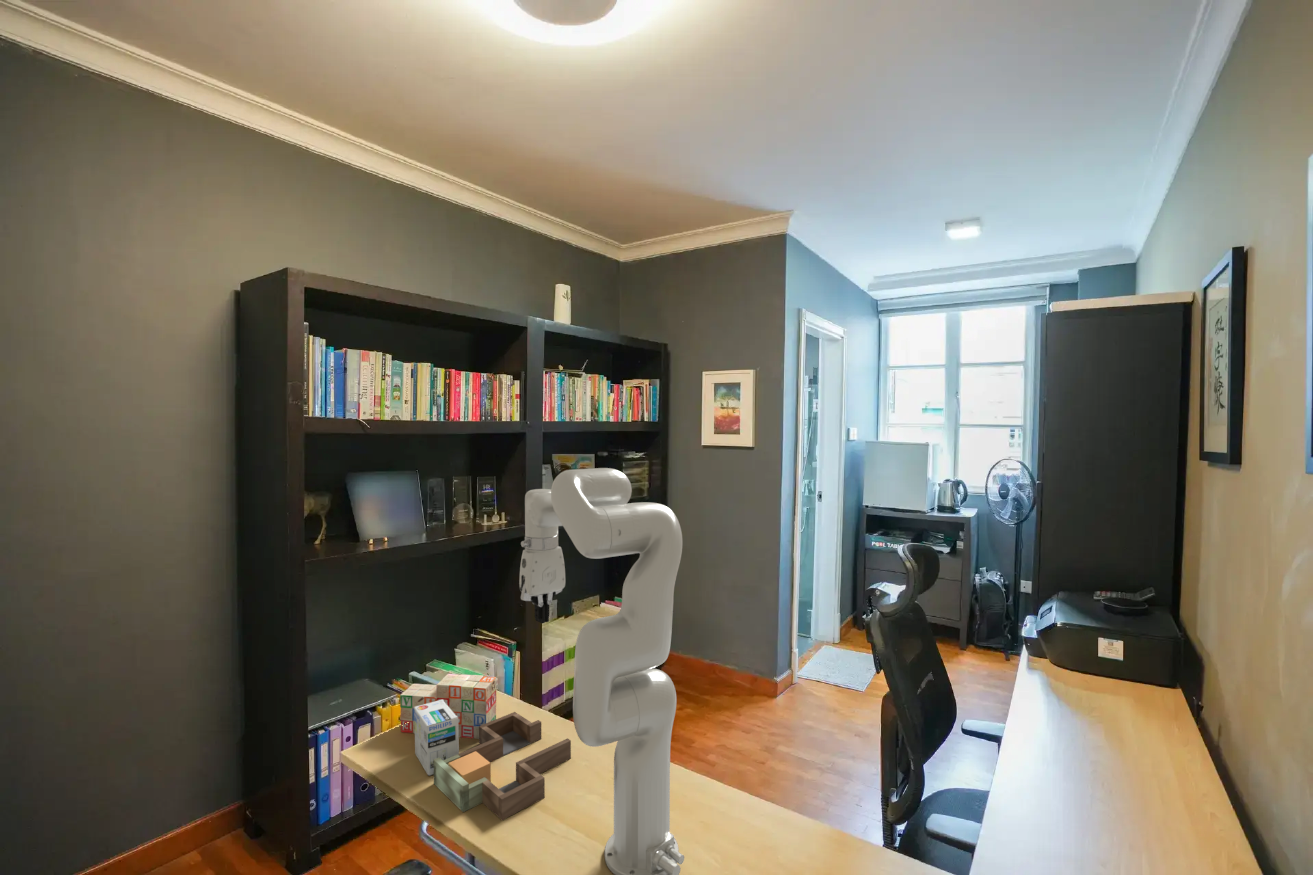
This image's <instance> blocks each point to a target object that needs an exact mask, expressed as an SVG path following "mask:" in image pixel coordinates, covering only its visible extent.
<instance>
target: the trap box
mask: <svg viewBox="0 0 1313 875" xmlns="http://www.w3.org/2000/svg"><path fill="white" fill-rule="evenodd" d="M541 739H542V721H541V720H540V719H538V720H535V721H533V722H532V721H530V720H528V719H527V718H525V717H524V716H522V715H520V714H519V713H517V712H516V711H513V712H511V713H508V714H506V715H503V716H501V717H498V718H496V720H493V721H491V722H488V723H486V724H483V725H481V726H479V739H478V743H479V744H478V745H476V746H473V747H471V748H469V749H466V750H464V751H462V752H459V754H457V755H455V756H452V757H450V758H448V759H445V760H442V759H441V758H436V759H434V774H433V785H434V786H435V787H436V788H438V789H439V791H441V792H442V793H443V794H444V795H445V796H446V797H447V798H448V799H449V800H450V801H451V802H452V803H453V804H454V805H455V806H456V807H457V808H458V809H460V811H461V812H462V813H465V812H467V811H469V810H471V809H473V808H474V807H477V806H478V805H481V804H483V805H484V806H485V807H487V809H489V811H491V812H492V813H493V814H494V815H496V816H497V817H498V818H499V819H500V820H501V821H504V820H506V819H507V818H509V817H512V816H513V815H515V814H517V813H519V812H521V811H522V810H524V809H526V808H527V807H530V806H532V805H533V804H535V803H538V802H539V801H541V800H543V799H545V796H546V795H545V794H546V793H545V791H546V789H545V787H546V786H545V785H546V784H545V780H546V779H545V778H546V777H544V775H542V773H545V772H547V771H549V770H550V769H553V768H555V767H556V766H559V765H561V764H562V763H564V762H567V761H568V760H570V759H571V758H572V750H571V749H572V746H571V745H572V740H571V739H570V738H566V739H563V740H560V741H559V742H557V743H554V744H552V745H550V746H549V747H546V748H543V749H542V750H540V751H537V752H536V753H533V754H531V755H529V756H526V757H525V758H523V759H521V760H518V761H516V762H515V780H514V781H512V782H510V783H507V784H506V785H503V786H502V787H498V786H496V785H495V784H493V783H492V782H490V781H489V780H488V779H486V778H485V777H484V778H482V779H480V780H478V781H475V782H473V783H471V784H469V783H467V782H466V781H465V780H464V779H463V778H462V777H461V776H460V775H459V774H457V773H456V772H455V771H454V770H453V769H452V768H451V767H450V766H449V764H448V763H449V762H452V761H454V760H456V759H459V758H461V757H463V756H466V755H468V754H470V753H473V752H475V751H476V752H478V753H479V754H480V755H481V756H483V757H484V758H485V759H486V760H487V761H489V762H490V763H492V762H493V761H496V760H497V759H500V758H501V757H505V756H507V755H508V754H509V755H510V754H511V753H513V752H515V751H517V750H520V749H522V748H524V747H527V746H529V745H530V744H534V743H535V742H537V741H540V740H541Z"/></svg>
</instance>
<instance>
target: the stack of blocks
mask: <svg viewBox="0 0 1313 875" xmlns="http://www.w3.org/2000/svg"><path fill="white" fill-rule="evenodd" d="M442 699H443V700H444V701H445V703H446V704H447V705H448V706H449V708H450V709H451V710H452V711H453V712H454V713H455V714H456V715H457V716H458V733H459V734H458V735H459V738H465V739H477V740H479V726H481V725H483V724H486V723H488V722H491V721H493V720H496V719H497V677H496V676H484V675H483V674H482V675H481V674H480V675H479V674H459V673H458V674H457V673H447V674H446V675H445V676H444V677H443V678H442V679H441V680H440V681H439V682H438V683H437V684H428V683H427V684H425V683H424V684H422V683H413V684H411V685H410V686H408V687H407V689H405V690H404V691H403V692H402V693H401V694H400V695H399V703H400V704H399V706H400V733H406V734H410V733H411V734H415V718H414V707H416V706H419V705H424V704H427V703H431V702H435V701H439V700H442ZM407 722H409V723H407ZM405 723H406V724H405ZM401 725H403V726H401Z"/></svg>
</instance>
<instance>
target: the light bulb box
mask: <svg viewBox="0 0 1313 875" xmlns="http://www.w3.org/2000/svg"><path fill="white" fill-rule="evenodd" d="M414 718H415V733H414V755H415V756H416V757H417V759H418V761H419V763H420V764H421V766H422V768H423V769H424V771H425V773H426V775H427V776H432V775H434V759H436V758H441V759H442V760H445V759H448V758H450V757H452V756H455V755H457V754H459V753H460V750H459V749H460V747H459V746H460V744H459V742H460V741H459V738H460V737H459V735H458V734H459V733H458V716H457V715H456V714H455V713H454V712H453V711H452V710H451V709H450V708H449V706H448V705H447V704H446V703H445V701H444V700H443V699H442V700H439V701H435V702H431V703H427V704H424V705H419V706H416V707H414Z"/></svg>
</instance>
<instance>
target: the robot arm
mask: <svg viewBox="0 0 1313 875" xmlns="http://www.w3.org/2000/svg"><path fill="white" fill-rule="evenodd" d="M631 496H632V484H631V481H630V480H629V478H628V476H627V475H626V474H625V473H623V472H622V471H620V470H618V469H615V468H611V467H609V468H608V467H598V468H597V467H596V468H594V467H593V468H578V469H577V468H576V469H566V470H563V471H562V472H560V473H559V474H558V475H557V476H556V477H555V478H554V479H553V482H552V485H551V489H550V488H549V489H548V488H535V489H530V490H528V491H526V493H525V495H524V524H525V525H524V530H525V534H524V540H522V541H521V542H520V545H521V547H522V548H524V549H523V550H522V554H521V560H520V567H519V580H518V581H519V583H518V584H519V591H520V592H521V594H520V600H521V601H525V602H531V603H532V604H533V605H534V619H535V621H536V622H538V623H540V624H545V623H549V622H550V605H551V604H552V602H553V599H554V597H555V596H556V595H558V594H559V593H562V592H563V589H564V588H565V587H566V568H565V559H564V554H563V549H562V547H561V546H559V527H563V529H564V530H565V532H566V533H567V535H568V536H569V539H570V540H571V542H572V543H573V545H574V547H575V549H576V550H577V551H578V552H579V553H580V554H581V555H582V556H583V557H585V558H588V559H596V560H597V559H606V558H612V557H619V556H620V557H621V556H626V555H635V554H639V557H638V559H637V560H636V561H635V562H634V563H633V565H632V566H631V568H630V570H629V572H628V573H627V575H626V577H625V580H624V581H623V586H622V591H621V592H622V593H621V594H622V595H621V608H620V610H619V612H618V613H616V614H613V615H609V616H603V617H599V618H596V619H593V620H590V621H588V622H586V624H584V625H583V626H582V627H581V629H580V631H579V633H578V634H577V639H576V641H575V650H574V670H573V671H574V672H573V673H574V674H573V694H572V696H573V698H572V716H573V724H574V728H575V732H576V734H577V737H578V739H580V741H581V743H583V744H585V746H588V747H595V748H596V747H602V746H605V745H608V744H612V743H615V742H617V743H616V745H615V750H614V756H613V834H612V835H611V836H610V837H609V838H608V839H607V841H606V843H605V847H604V860H605V864H606V866H607V868H608V869H609V871H611V873H613V875H680V873H681V866H680V865H682V864H683V863H684V861H685V855H684V854H682V853H681V852H679V851H680V849H679V845H678V841H677V840H676V838H675V835H674V834H673V833H671V832H670V830H671V829H670V828H671V827H670V825H671V824H670V822H671V821H670V819H671V818H670V817H671V816H670V815H671V814H670V811H671V810H670V809H671V808H670V807H671V806H670V805H671V804H670V803H671V800H670V799H671V795H670V794H671V793H670V792H671V791H670V790H671V775H670V774H671V741H672V732H673V726H674V720H675V716H676V710H677V692H676V686H675V685H674V682H673V681H672V680H673V679H672V678H671V677H670V676H669V675H668V673H666V672H664V671H663V670H662V669H661V670H660V669H657V668H656V667H658V666H660V665H662V664H663V663H665V662H666V661H667V659H668V657H669V655H670V650H671V645H672V644H671V642H672V631H673V629H672V628H673V614H674V612H673V611H674V597H675V596H674V592H675V585H676V580H677V575H678V571H679V568H680V563H681V559H682V554H683V533H682V528H681V525H680V522H679V519H678V517H677V516H676V514H675V513H674V511H673V510H672V509H671V508H670V507H668V506H666V505H665V504H662V503H657V502H649V501H648V502H643V501H641V502H631V503H630V502H629V501H630V499H631ZM628 502H629V503H628Z"/></svg>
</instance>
